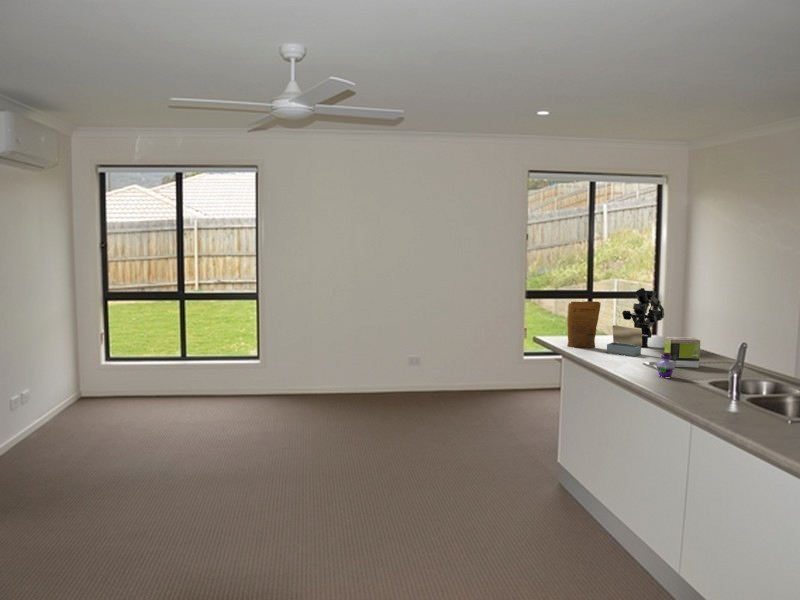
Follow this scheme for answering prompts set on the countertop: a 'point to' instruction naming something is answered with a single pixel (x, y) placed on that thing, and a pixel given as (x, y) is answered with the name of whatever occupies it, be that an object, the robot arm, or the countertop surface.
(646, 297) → the robot arm
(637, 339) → the birch lid
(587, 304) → the pancake mix bag
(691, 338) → the tea box
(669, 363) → the potion bottle
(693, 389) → the countertop surface
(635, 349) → the slate box
